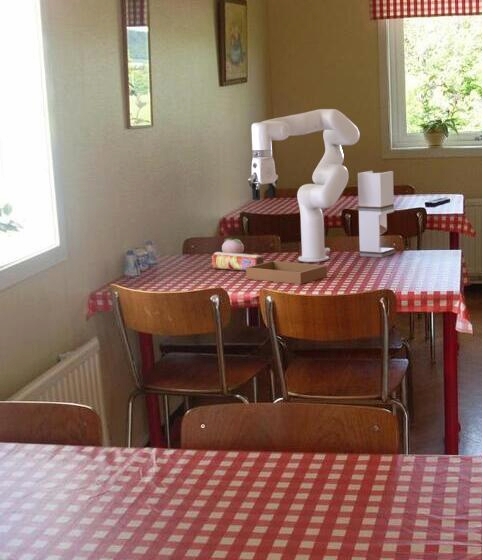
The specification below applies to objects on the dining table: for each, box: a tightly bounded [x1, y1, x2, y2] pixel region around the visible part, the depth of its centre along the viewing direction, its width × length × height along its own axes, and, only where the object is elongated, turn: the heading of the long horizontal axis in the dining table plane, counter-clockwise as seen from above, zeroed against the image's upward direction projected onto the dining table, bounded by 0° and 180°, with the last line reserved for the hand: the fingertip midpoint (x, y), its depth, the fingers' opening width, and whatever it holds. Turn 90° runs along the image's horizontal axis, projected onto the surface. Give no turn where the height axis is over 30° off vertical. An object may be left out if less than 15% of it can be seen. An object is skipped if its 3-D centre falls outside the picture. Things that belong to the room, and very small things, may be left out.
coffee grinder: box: [357, 170, 396, 258], centre depth 420 cm, size 11×11×35 cm
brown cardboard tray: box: [245, 260, 328, 285], centre depth 375 cm, size 17×26×4 cm, turn 56°
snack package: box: [211, 251, 264, 272], centre depth 395 cm, size 21×7×7 cm, turn 63°
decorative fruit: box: [221, 236, 245, 254], centre depth 418 cm, size 9×8×10 cm
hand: (264, 198), depth 389 cm, fingers open, 9 cm apart
